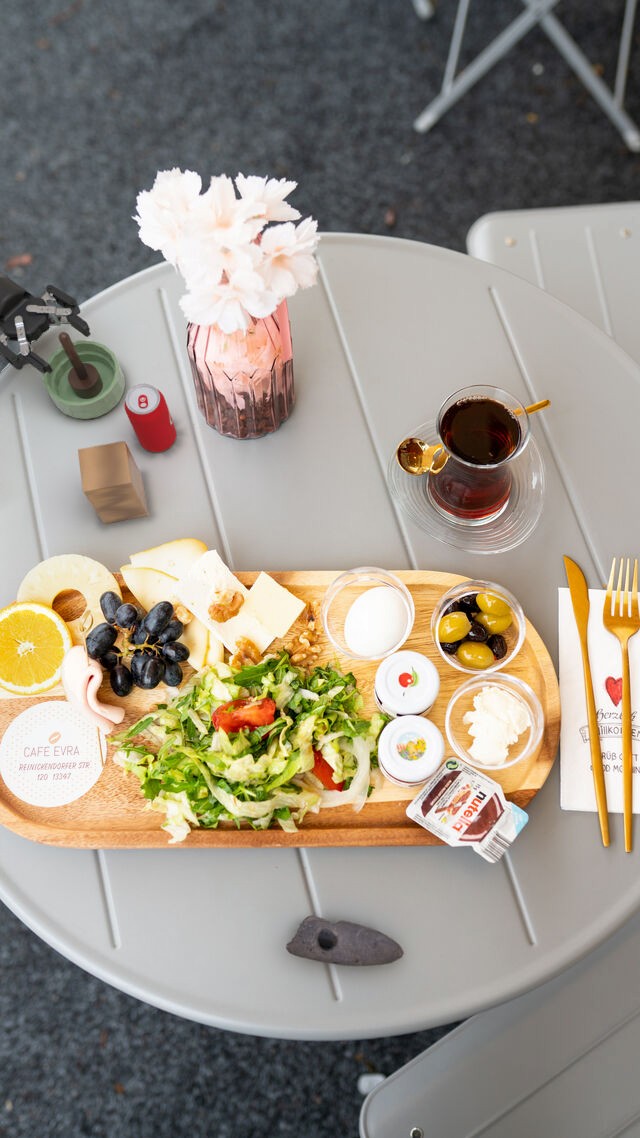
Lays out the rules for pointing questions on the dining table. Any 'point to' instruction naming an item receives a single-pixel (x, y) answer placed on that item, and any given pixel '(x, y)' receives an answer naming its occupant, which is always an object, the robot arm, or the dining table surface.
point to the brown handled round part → (81, 372)
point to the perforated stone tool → (343, 943)
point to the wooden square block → (112, 482)
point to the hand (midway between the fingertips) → (69, 350)
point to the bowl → (63, 390)
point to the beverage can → (150, 418)
